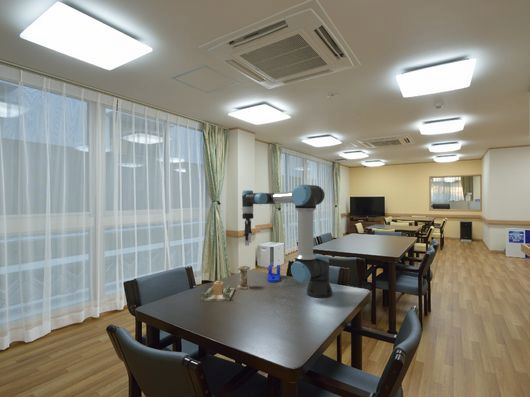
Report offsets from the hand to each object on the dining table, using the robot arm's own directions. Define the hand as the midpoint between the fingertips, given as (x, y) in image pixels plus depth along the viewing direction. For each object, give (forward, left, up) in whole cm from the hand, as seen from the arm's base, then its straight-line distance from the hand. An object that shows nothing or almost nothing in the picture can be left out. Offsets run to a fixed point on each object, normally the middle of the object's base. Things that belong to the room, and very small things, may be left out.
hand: (248, 244), depth 194 cm
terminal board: (+15, +25, -27) cm, 40 cm away
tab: (+15, +25, -26) cm, 39 cm away
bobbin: (+2, +10, -27) cm, 29 cm away
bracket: (-17, -10, -27) cm, 34 cm away
